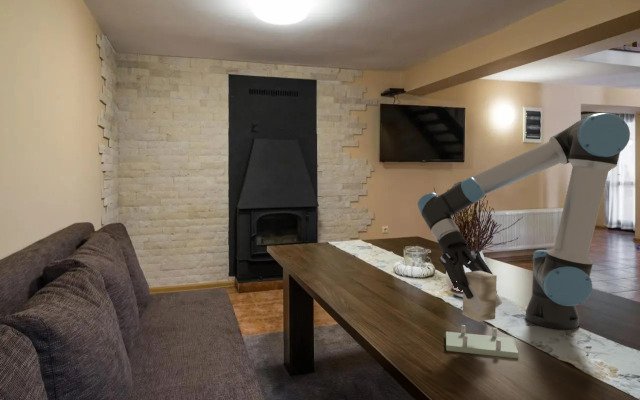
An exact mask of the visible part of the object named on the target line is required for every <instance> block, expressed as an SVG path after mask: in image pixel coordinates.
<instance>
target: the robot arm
mask: <svg viewBox="0 0 640 400" xmlns="http://www.w3.org/2000/svg"><path fill="white" fill-rule="evenodd" d="M630 136H631V132H630V127H629V125H628V123H626V121H625V120H624V119H623V118H622V117H621V116H619V115H616V114H613V113H608V112H606V113H605V112H602V113H599V112H598V113H594V114H591V115H589V116H587V117H585V118H582V119H580V120H578V121H576V122H575V123H572V125H570V126H569V127H567V128H565V129H564V130H562V131H560V132H559V133H557V134H554V135H552V136H551V137H550V138H549V141H547V142H544V143H542V144H540V145H538V146H535V147H533V148H532V149H529V150H527V151H524V152H523V153H520V154H519V155H516V156H514V157H512V158H510V159H508V160H505V161H502V162H501V163H499V164H498V163H497V165H494V166H492V167H490V168H488V169H485V170H483V171H481V172H479V173H477V174H475V175H473V176H469V177H468V178H466V179H463V180H461V181H458V182H456V183H454V184H453V185H452V186H451V188H449V189H448V190H446V191H445V192H444V193H441V194H438V193H437V192H428V194H424V195H422V196H421V197H420V198H419V200H418V201H417V207H418V210H419V211H420V215H421V217H422V218H423V220H424V222H425V223H426V225H427V226H428V229H429V230H430V232H431V234H432V236H433V237H434V240H435V241H436V243H437V245H438V247H439V249H440V250H441V252H442V255H441V256H440V257H439V258H438V261H439V262H440V263H441V264H442V266H443V267H444V269H445V270H444V271H446V274H447V276H448V277H449V279H450V283H451V284H452V287H453V286H454V288H457V287H458V289H459V290H460V291H462V290H463V292H464V294H465V295H466V297H467V298H468V299H469V300H470V302H471V303H472V305H473V307H474V309H475V311H479V310H480V309H481V308H482V307H483V304H482V302H481V301H480V299H479V297H478V295H477V294H476V292H475V290H474V288H473V287H472V285H469V286H468V281H467V278H466V275H465V272H466V271H465V268H467V269H468V270H470V272H473V271H483V272H487V273H490V274H493V272H492V270H491V269H490V268H489V266H488V265H487V263H486V262H485V261H484V259H483V257H482V256H481V252H480V250H478V249H477V250H475V251H472V250H471V249H470V248H469V247H468V246H467V240H466V239H465V237H464V235H463V234H462V232H461V231H460V228H459V227H458V226H457V224H456V222H455V220H454V219H453V216H455V215H457V214H458V213H460V212H462V211H464V210H465V209H468V207H470V206H472V205H474V204H477V203H478V202H479V201H481V200H482V199H484V198H485V197H486V196H487V195H490V194H492V193H494V192H496V191H498V190H500V189H503V188H506V187H508V186H511V185H513V184H515V183H518V182H520V181H522V180H524V179H527V178H529V177H531V176H533V175H535V174H538V173H541V172H543V171H545V170H548V169H550V168H553V167H554V166H557V165H559V164H562V165H566V164H569V163H570V165H571V166H572V168H571V173H570V177H569V181H568V185H567V186H568V187H567V190H566V194H565V199H564V204H563V207H562V212H561V216H560V221H559V225H558V230H557V233H556V234H557V235H556V237H555V242H554V246H553V247H552V248H551V249H537V250H534V251H533V254H532V287H531V288H532V289H531V290H532V291H531V292H532V293H531V298H530V299H529V302H528V304H527V307H526V309H525V319H526V320H527V321H528V322H529V323H532V324H535V325H537V326H541V327H545V328H549V329H555V330H557V329H558V330H572V329H576V328H578V327H579V325H580V317H579V313H578V310H577V307H576V306H578V305H581V304H583V303H585V302H586V301H587V300H588V299H589V298H590V297H591V294H592V292H593V283H592V279H591V278H590V277H591V272H592V270H593V269H592V268H593V265H594V262H593V260H592V258H591V257H590V256H589V254H590V249H591V245H592V241H593V238H594V237H593V236H594V233H595V229H596V224H597V221H598V215H599V212H600V209H601V203H602V200H603V196H604V191H605V188H606V184H607V179H608V175H609V172H610V171H612V170H614V169H615V168H616V167H618V162H619V157H620V155H621V152H623V150H624V149H625V148H626V147H627V145H628V144H629V141H630V139H631V138H630ZM493 275H494V274H493ZM456 281H457V282H456ZM502 304H503V301H502V299H501V298H500V296H499V294H498V291H497V290H496V308H498V307H499V306H501V305H502Z"/></svg>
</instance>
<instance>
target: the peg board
mask: <svg viewBox="0 0 640 400" xmlns="http://www.w3.org/2000/svg"><path fill="white" fill-rule="evenodd" d="M466 327H467V326H466V325H465V324H461V327H460V330H461V331H460V332H455V331H445V349H446V351H447V352H456V353H465V354H472V355H483V356H492V357H493V356H494V357H501V358H510V359H511V358H512V359H519V355H520V354H519V351H518V348H517V346H516V342H515V341H514V338H513V337H507V336H498V328H497V327H492V329H491V330H492V331H491V332H492V334H491V335H487V334H486V335H485V334H475V333H466V331H467V330H466Z"/></svg>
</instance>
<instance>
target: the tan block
mask: <svg viewBox="0 0 640 400" xmlns="http://www.w3.org/2000/svg"><path fill="white" fill-rule="evenodd" d="M465 275H466V278H467V281H468V286H469V285H472V287H473V288H474V290H475V292H476V294H477V295H478V297H479V299H480V301H481V302H482V304H483V307H482V308H481V309H480V310H479V311H475V309H474V307H473V305H472V303H471V302H470V300H469V299H468V298H467V297H466V295H465V294H464V292H463V293H462V315H463V316H465V317H467V318H469V319H471V320H473V321H476V322H478V323H479V322H486V321H491V320H495V319H496V312H497V311H496V291H497V277H498V276H497V275H496V274H490V273H487V272H483V271H473V272H472V271H465Z"/></svg>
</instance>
